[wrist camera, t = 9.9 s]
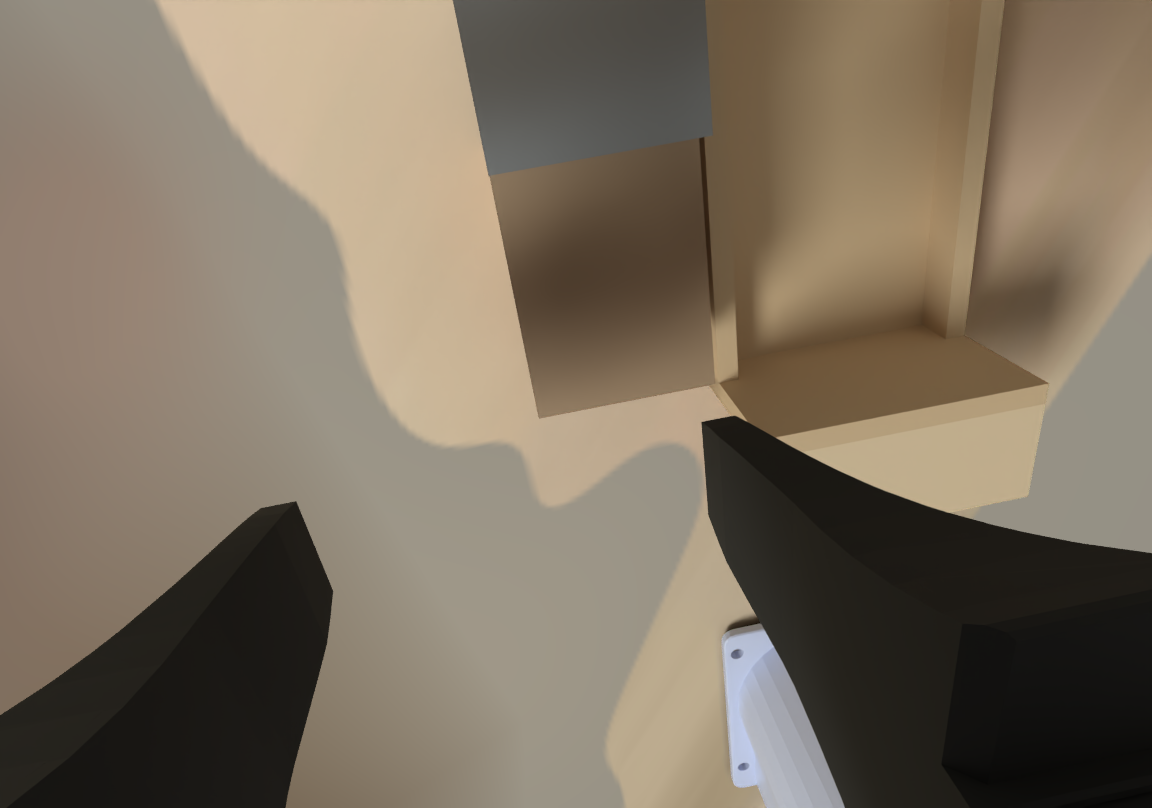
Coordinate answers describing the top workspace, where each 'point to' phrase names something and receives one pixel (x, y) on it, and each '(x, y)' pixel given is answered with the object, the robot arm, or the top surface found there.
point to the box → (598, 188)
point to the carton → (860, 242)
